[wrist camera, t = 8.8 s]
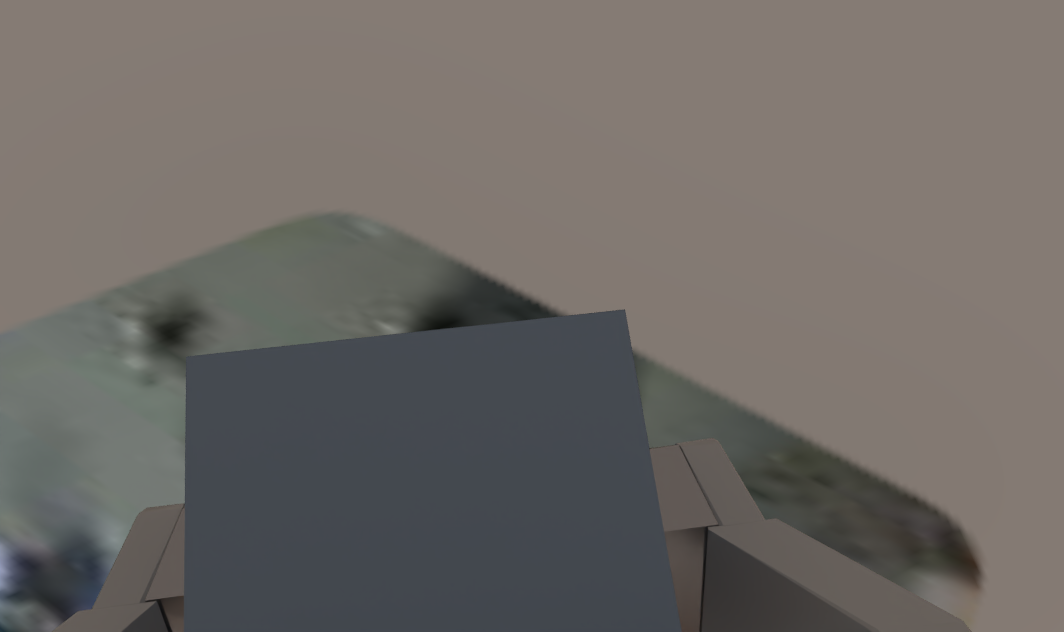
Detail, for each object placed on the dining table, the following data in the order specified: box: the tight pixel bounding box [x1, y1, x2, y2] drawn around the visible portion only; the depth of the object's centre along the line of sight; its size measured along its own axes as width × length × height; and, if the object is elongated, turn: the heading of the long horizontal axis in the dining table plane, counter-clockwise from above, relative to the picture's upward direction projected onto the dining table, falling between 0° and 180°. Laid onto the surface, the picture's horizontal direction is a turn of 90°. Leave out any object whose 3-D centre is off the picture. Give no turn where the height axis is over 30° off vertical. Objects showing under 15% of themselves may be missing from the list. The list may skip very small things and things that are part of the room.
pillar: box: [184, 310, 682, 632], centre depth 10 cm, size 4×4×8 cm
